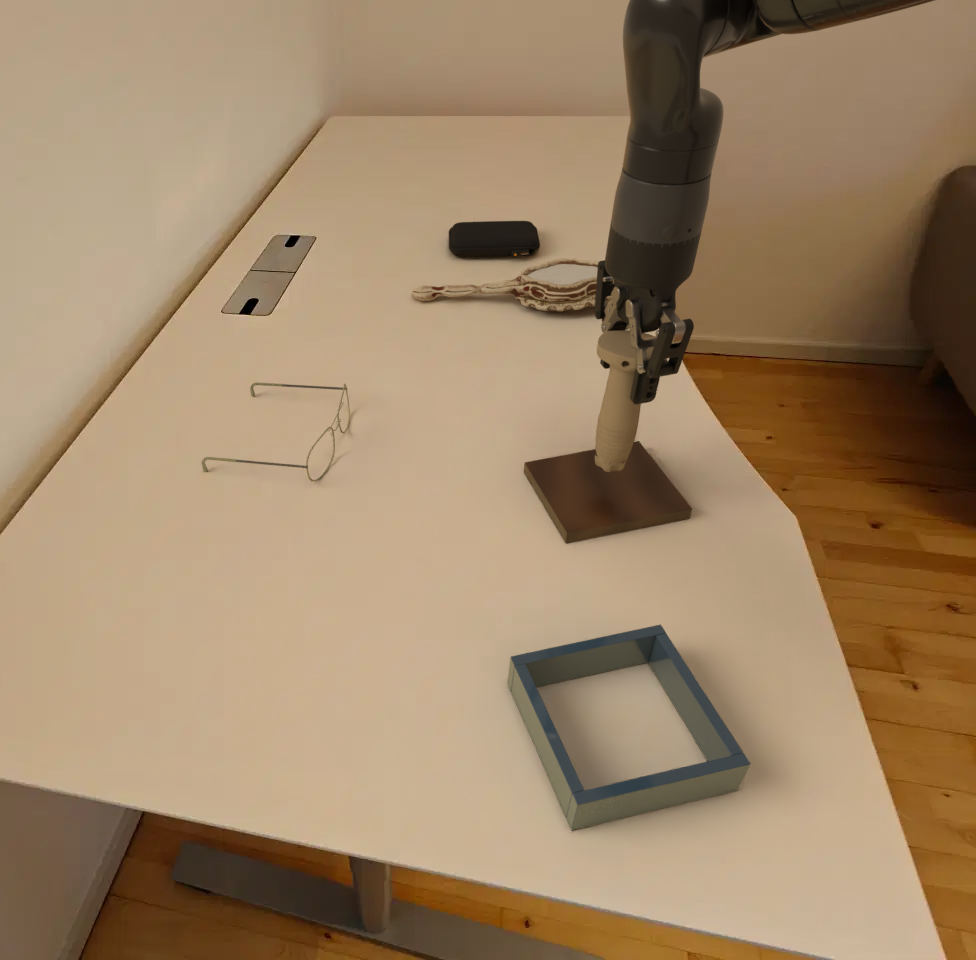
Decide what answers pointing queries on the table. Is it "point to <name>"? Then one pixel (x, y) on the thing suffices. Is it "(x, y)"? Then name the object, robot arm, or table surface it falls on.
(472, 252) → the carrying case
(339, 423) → the eyeglasses
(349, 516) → the table surface
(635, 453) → the board
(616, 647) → the blue square frame
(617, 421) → the handle
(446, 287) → the hand mirror
